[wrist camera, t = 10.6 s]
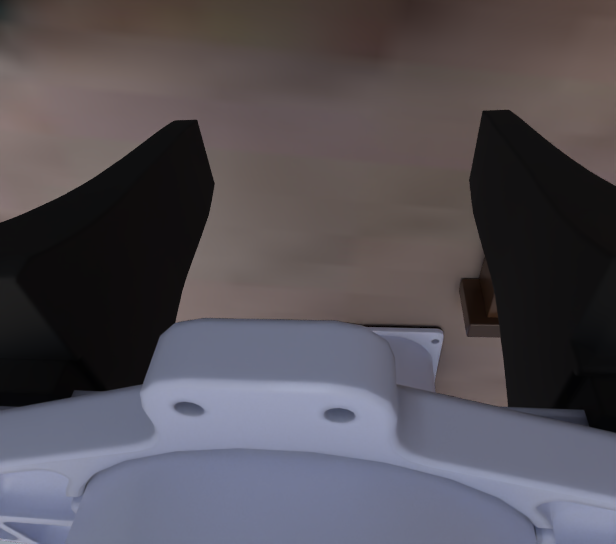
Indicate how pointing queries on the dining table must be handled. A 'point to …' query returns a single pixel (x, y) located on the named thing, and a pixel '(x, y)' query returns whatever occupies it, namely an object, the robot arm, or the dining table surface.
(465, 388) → the dining table surface
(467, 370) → the dining table surface
